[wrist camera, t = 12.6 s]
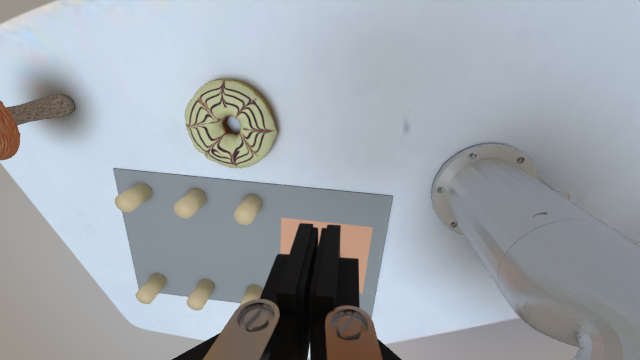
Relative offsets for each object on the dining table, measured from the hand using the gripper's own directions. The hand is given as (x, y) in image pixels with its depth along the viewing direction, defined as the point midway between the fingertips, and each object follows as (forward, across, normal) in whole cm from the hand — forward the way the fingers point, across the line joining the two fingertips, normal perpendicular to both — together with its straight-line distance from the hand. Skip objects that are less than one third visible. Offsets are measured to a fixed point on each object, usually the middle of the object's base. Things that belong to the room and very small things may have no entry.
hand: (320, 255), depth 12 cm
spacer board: (+27, +13, +19) cm, 35 cm away
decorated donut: (+27, +14, 0) cm, 30 cm away
